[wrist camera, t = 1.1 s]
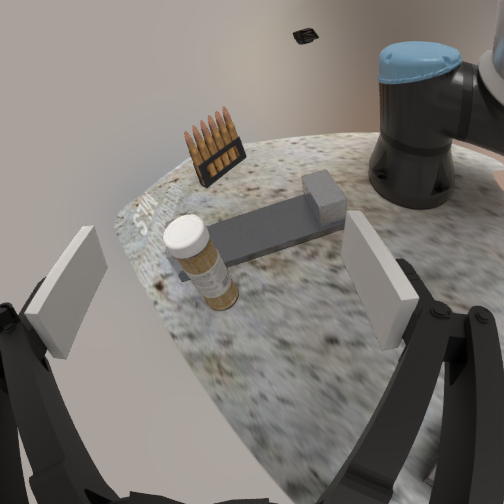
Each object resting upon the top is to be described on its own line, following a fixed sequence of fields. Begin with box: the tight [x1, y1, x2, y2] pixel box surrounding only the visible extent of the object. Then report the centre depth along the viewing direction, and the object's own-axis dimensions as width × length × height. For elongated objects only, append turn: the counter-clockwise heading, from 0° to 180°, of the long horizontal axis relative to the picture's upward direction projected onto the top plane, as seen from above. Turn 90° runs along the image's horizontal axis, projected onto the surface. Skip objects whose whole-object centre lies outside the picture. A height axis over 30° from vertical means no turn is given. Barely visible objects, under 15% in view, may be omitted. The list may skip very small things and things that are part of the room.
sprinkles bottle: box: [163, 215, 238, 310], centre depth 35 cm, size 5×5×14 cm
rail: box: [166, 170, 347, 282], centre depth 44 cm, size 25×8×5 cm, turn 103°
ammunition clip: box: [184, 107, 246, 188], centre depth 53 cm, size 11×2×12 cm, turn 135°
